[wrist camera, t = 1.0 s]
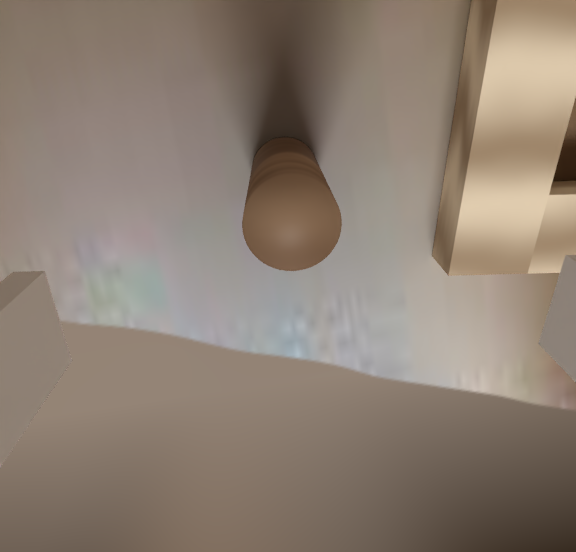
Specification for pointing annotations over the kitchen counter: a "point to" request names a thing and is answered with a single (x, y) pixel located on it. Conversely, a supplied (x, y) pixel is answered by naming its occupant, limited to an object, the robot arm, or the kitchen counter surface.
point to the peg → (289, 207)
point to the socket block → (510, 142)
